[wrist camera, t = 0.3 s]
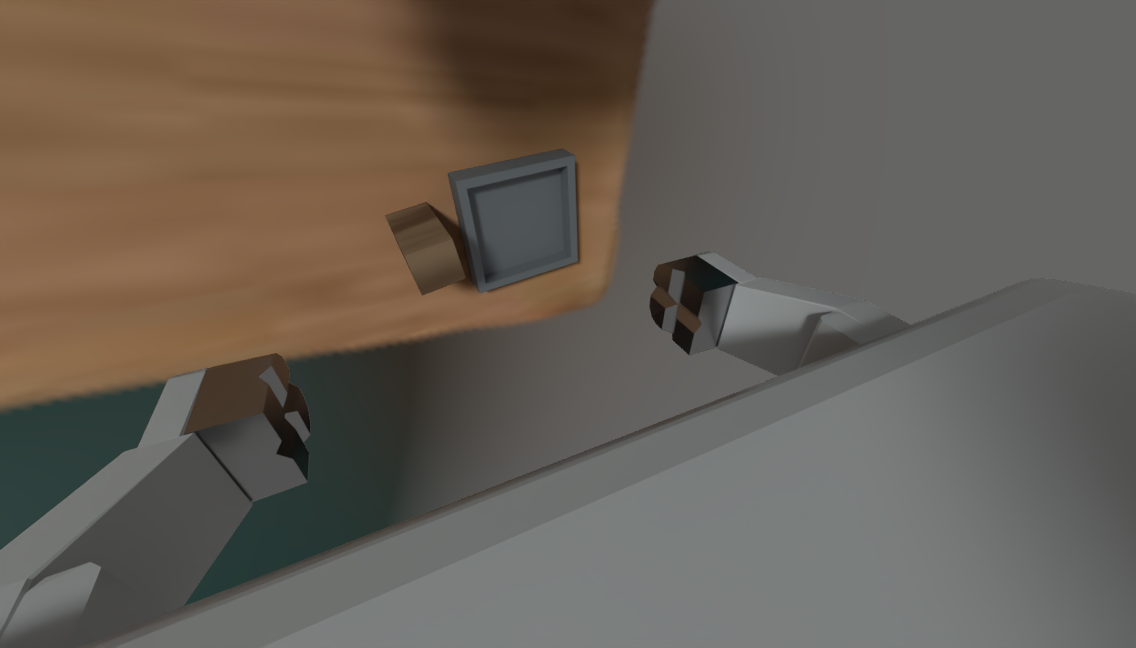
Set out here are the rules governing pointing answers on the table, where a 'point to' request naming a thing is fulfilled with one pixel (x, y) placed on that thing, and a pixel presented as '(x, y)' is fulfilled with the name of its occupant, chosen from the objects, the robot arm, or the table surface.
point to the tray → (517, 217)
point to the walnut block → (426, 247)
